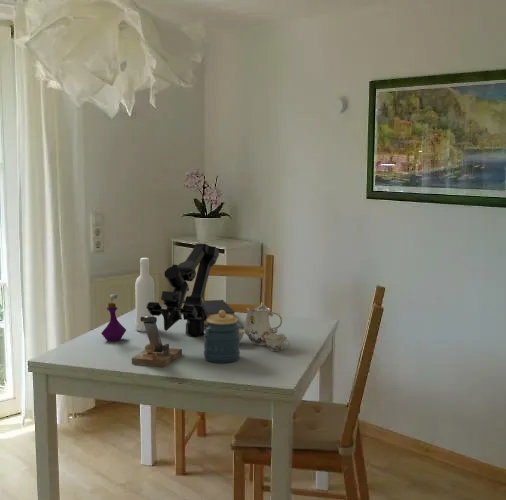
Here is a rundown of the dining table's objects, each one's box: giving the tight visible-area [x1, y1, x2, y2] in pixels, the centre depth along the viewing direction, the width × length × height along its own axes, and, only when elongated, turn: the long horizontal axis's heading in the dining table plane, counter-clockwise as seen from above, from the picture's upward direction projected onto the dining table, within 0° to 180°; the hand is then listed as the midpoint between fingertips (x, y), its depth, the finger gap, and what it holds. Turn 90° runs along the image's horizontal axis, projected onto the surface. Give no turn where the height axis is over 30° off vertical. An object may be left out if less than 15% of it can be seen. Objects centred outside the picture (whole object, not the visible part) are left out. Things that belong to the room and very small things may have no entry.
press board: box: [131, 342, 183, 368], centre depth 235 cm, size 16×12×7 cm
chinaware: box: [239, 301, 291, 352], centre depth 254 cm, size 28×17×17 cm, turn 69°
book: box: [203, 299, 235, 325], centre depth 292 cm, size 17×25×7 cm
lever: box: [140, 316, 164, 353], centre depth 231 cm, size 2×5×16 cm
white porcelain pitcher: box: [240, 305, 257, 330], centre depth 276 cm, size 8×8×10 cm
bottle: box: [134, 257, 155, 333], centre depth 273 cm, size 8×8×30 cm
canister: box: [203, 310, 241, 364], centre depth 236 cm, size 13×13×18 cm
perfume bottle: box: [101, 293, 127, 342], centre depth 258 cm, size 8×8×18 cm
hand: (165, 329), depth 240 cm, fingers closed
